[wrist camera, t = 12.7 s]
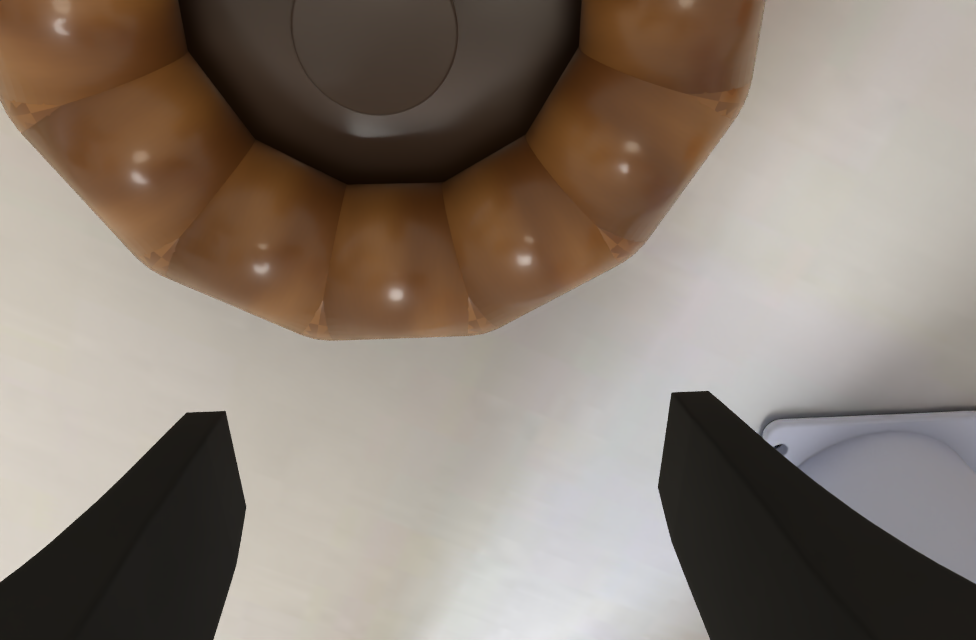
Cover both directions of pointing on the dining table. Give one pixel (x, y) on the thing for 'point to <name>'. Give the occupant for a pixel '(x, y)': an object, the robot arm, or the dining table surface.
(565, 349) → the dining table surface
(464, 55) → the stand
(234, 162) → the ring
